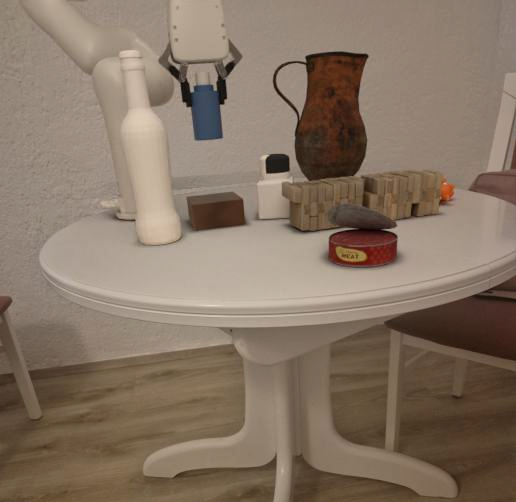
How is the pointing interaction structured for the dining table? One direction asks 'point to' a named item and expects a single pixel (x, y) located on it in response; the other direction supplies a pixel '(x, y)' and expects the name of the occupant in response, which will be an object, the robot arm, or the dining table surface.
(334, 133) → the pitcher
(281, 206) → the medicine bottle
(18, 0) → the robot arm
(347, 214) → the canned food
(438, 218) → the dining table surface
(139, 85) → the bottle
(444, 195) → the orange toy bird
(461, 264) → the dining table surface
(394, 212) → the block tower
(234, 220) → the walnut block
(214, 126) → the blue bottle
